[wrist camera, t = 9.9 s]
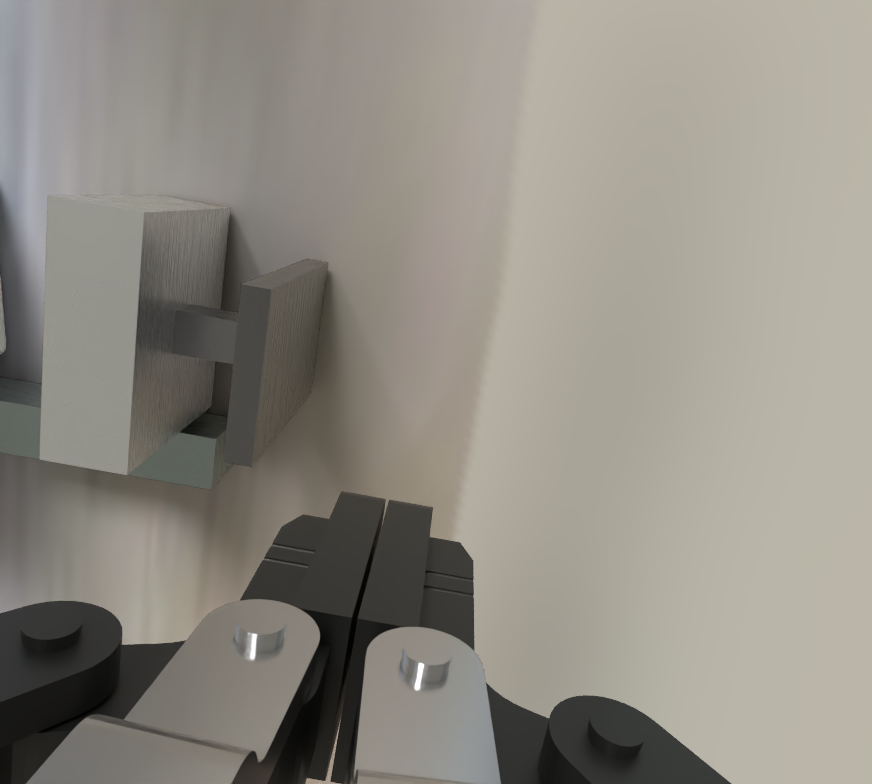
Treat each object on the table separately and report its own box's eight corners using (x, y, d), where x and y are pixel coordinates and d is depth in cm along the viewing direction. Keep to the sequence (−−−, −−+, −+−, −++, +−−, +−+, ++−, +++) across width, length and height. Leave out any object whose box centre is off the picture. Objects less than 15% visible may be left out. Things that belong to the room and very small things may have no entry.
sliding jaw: (148, 193, 26) (14, 192, 19) (333, 226, 26) (277, 239, 19) (135, 392, 28) (9, 467, 21) (307, 423, 28) (246, 509, 21)
